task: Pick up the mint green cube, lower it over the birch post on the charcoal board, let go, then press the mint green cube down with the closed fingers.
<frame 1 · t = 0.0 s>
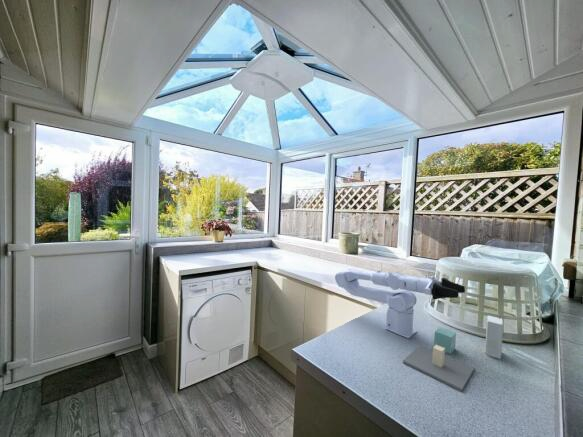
hand: (461, 291, 83), 22 cm above the table, tool horizontal, fingers open, 7 cm apart
mint green cube: (444, 348, 87), on the table
post board: (438, 366, 77), on the table
skincare box: (492, 353, 85), on the table
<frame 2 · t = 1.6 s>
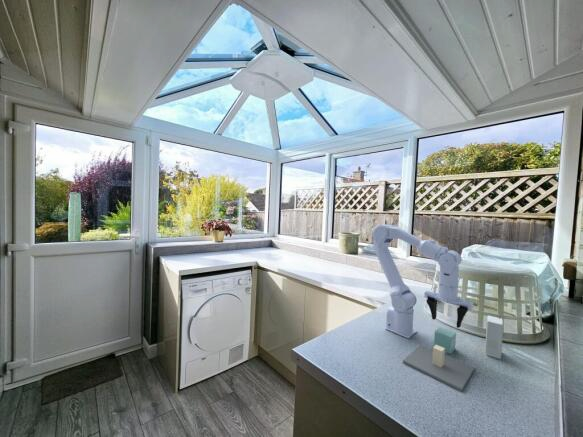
hand: (446, 322, 87), 9 cm above the table, tool pointing down, fingers open, 7 cm apart
nothing on the table moved.
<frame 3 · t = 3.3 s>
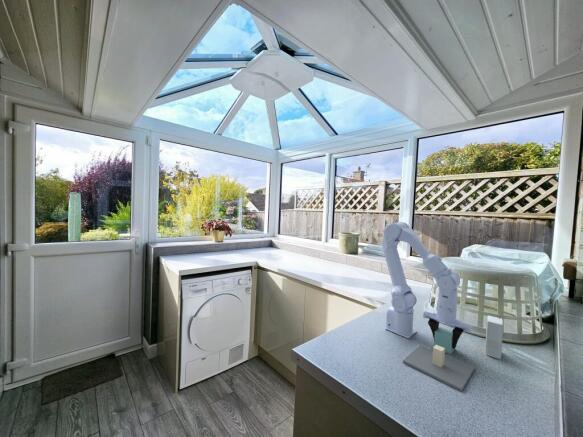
hand: (444, 343, 87), 2 cm above the table, tool pointing down, fingers closed on mint green cube, 5 cm apart
mint green cube: (444, 348, 87), on the table, touching gripper
everything else where it was.
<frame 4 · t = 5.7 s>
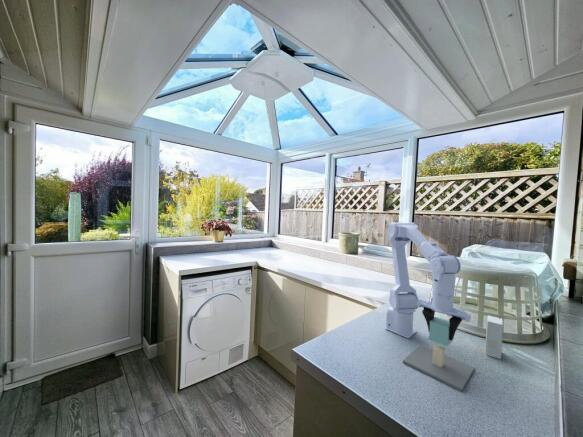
hand: (440, 335, 78), 9 cm above the table, tool pointing down, fingers closed on mint green cube, 5 cm apart
mint green cube: (440, 340, 78), point 8 cm above the table, touching gripper
everything else where it was.
when the fingers open (3 cm above the table, at t = 8.3 s): mint green cube stays where it is, resting on post board.
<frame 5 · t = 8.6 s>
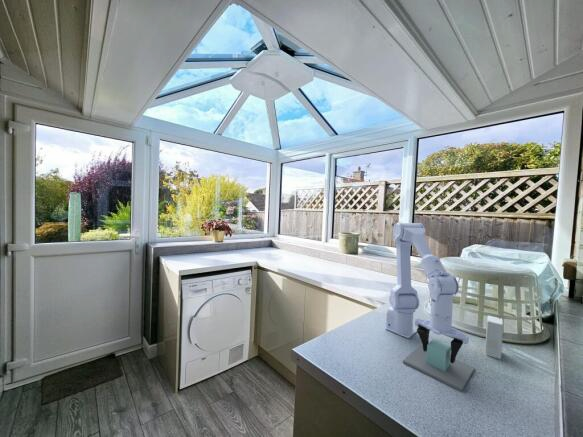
hand: (438, 355, 77), 3 cm above the table, tool pointing down, fingers open, 7 cm apart
mint green cube: (438, 363, 77), point 1 cm above the table, touching post board
everything else where it was.
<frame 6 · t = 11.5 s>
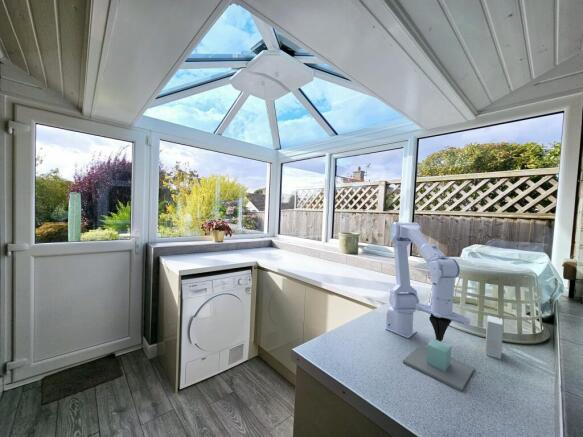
hand: (439, 339, 77), 9 cm above the table, tool pointing down, fingers closed
nothing on the table moved.
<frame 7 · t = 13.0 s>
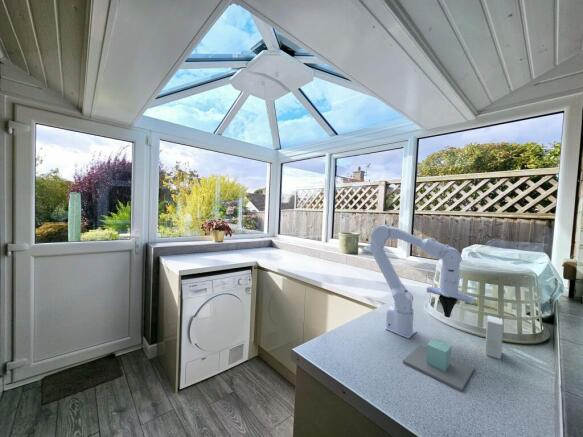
hand: (447, 316, 91), 10 cm above the table, tool pointing down, fingers closed
nothing on the table moved.
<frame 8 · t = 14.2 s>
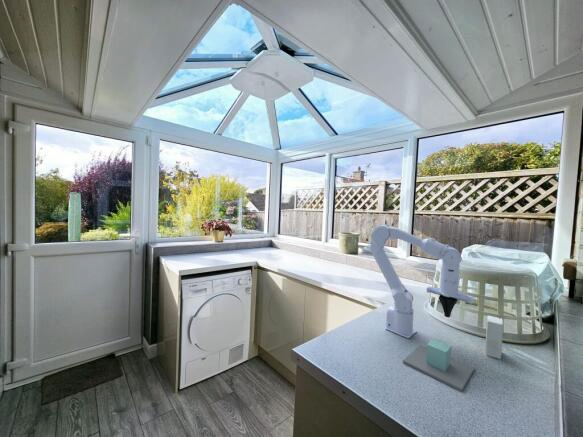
hand: (447, 316, 91), 10 cm above the table, tool pointing down, fingers closed
nothing on the table moved.
at the end: mint green cube 0.1 cm from the post board (horizontally); mint green cube point 0.8 cm above the table; mint green cube tilted 0° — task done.
